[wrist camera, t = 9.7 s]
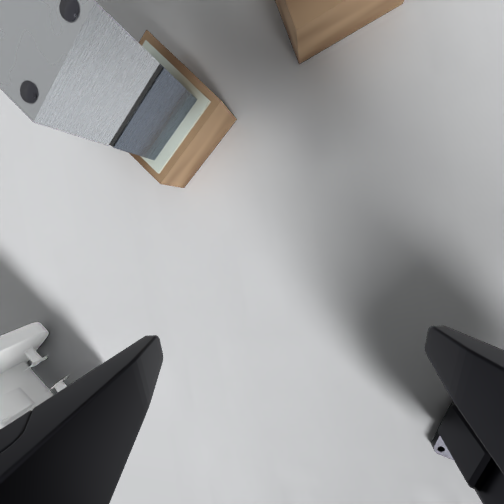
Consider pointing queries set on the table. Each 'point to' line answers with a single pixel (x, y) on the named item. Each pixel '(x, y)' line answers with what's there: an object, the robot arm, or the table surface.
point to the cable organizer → (22, 372)
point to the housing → (87, 76)
